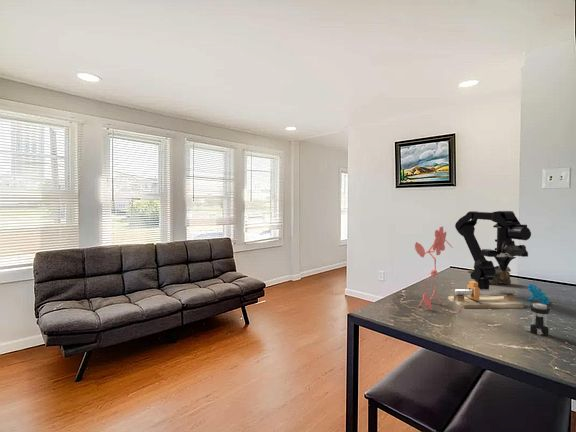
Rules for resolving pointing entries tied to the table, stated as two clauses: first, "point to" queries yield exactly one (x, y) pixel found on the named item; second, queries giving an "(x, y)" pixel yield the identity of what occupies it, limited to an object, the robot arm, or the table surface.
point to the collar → (476, 289)
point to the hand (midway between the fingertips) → (503, 271)
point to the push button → (539, 319)
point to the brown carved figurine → (499, 276)
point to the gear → (538, 294)
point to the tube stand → (486, 299)
